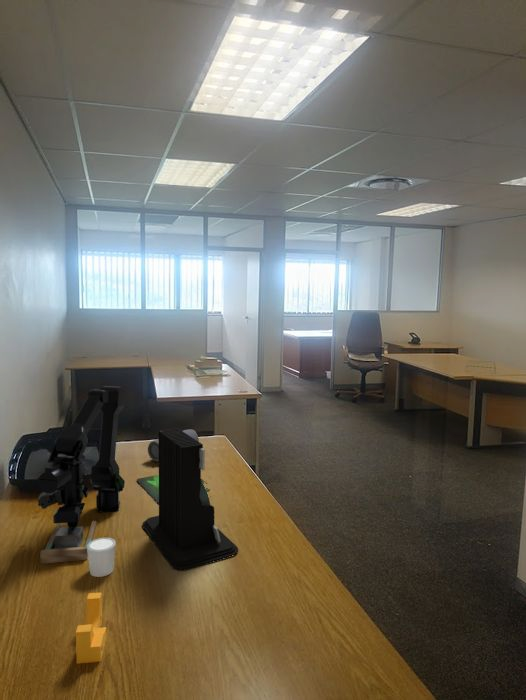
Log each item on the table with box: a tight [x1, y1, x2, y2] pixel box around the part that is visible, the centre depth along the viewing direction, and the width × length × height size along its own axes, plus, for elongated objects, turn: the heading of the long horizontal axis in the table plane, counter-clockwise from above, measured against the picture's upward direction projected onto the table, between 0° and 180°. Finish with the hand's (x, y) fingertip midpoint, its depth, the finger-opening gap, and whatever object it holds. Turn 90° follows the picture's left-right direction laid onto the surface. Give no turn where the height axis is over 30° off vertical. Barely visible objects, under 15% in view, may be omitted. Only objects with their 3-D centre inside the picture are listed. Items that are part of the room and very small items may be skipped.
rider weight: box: [54, 526, 84, 549], centre depth 133 cm, size 6×5×4 cm
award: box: [141, 427, 239, 571], centre depth 137 cm, size 30×19×30 cm, turn 31°
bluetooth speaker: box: [147, 429, 200, 462], centre depth 208 cm, size 23×9×10 cm, turn 147°
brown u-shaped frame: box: [39, 520, 98, 565], centre depth 134 cm, size 11×20×3 cm, turn 12°
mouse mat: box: [136, 474, 210, 505], centre depth 175 cm, size 27×22×1 cm
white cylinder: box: [87, 537, 116, 578], centre depth 121 cm, size 7×7×7 cm
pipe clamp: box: [75, 592, 107, 664], centre depth 96 cm, size 12×4×6 cm, turn 9°
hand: (72, 532), depth 137 cm, fingers closed
